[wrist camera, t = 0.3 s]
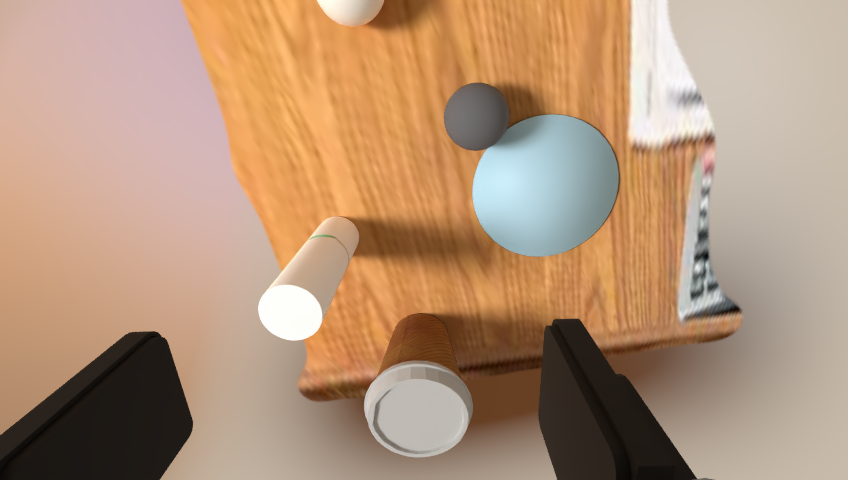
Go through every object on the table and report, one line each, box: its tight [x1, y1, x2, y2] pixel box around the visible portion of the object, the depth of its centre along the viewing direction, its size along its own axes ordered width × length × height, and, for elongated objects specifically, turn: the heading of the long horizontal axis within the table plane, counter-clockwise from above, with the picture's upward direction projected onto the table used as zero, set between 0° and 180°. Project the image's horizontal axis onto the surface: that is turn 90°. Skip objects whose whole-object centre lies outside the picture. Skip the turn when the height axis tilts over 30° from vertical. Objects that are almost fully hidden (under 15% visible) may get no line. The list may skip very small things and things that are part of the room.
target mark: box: [473, 114, 619, 257], centre depth 39 cm, size 14×14×1 cm
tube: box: [258, 216, 359, 340], centre depth 34 cm, size 4×4×15 cm
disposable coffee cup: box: [364, 314, 473, 457], centre depth 39 cm, size 10×10×12 cm
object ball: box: [444, 83, 509, 151], centre depth 34 cm, size 6×6×6 cm
